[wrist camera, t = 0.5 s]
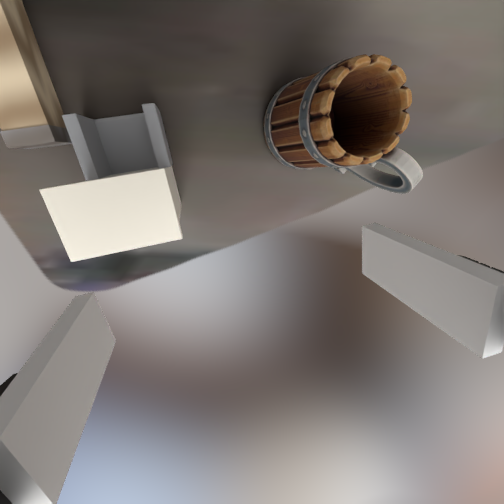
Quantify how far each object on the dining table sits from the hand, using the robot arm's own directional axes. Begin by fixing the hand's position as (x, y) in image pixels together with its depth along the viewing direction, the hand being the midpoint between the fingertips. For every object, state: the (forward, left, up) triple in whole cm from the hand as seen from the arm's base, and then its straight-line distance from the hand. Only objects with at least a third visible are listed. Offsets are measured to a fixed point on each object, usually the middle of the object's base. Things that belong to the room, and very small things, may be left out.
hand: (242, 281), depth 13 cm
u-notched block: (-5, -7, -25) cm, 27 cm away
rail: (-17, -15, -25) cm, 34 cm away
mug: (-5, +16, -26) cm, 30 cm away
